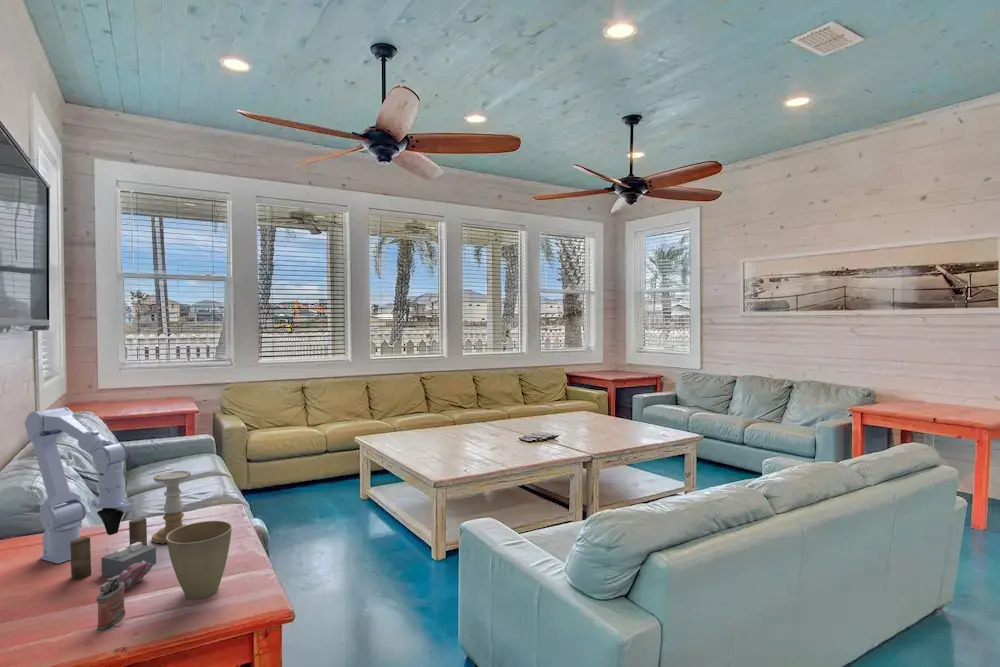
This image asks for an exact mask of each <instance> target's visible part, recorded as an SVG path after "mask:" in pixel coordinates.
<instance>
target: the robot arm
mask: <svg viewBox="0 0 1000 667" xmlns="http://www.w3.org/2000/svg"><path fill="white" fill-rule="evenodd" d="M24 426H25V430H26V434H27V437H28V441H29V442H31V443H32V447H33V450H34V452H35V457H36V459H37V460H36V461H37V464H38V467H39V471H40V474H41V478H42V482H43V485H44V488H45V492H46V496H47V499H46V500H45V501H44V502H43V503H42V504H41V505H40V507H39V512H40V517H39V518H40V520H39V522H40V525H41V526H42V528H43V529H44V530H45V531H44V532H43V535H42V556H39V559H40V558H41V559H40V560H44V561H47V562H51V563H55V564H58V565H59V564H62V563H65V562H68V561H71V552H70V541H72V540H74V539H76V538H81V536H80V535H81V534H80V533H81V531H80V525H81V524H83V520H84V519H85V518H86V516H87V507H86V505H85V503H84V502H83V501H82V498H81V495H80V494H78V493H75V492H73V491H71V490H70V487H69V483H68V480H67V476H66V472H65V470H64V466H63V463H62V459H61V456H60V452H59V448H58V446H57V440H58V438H59V437H61V436H62V435H64V434H66V435H69V437H71V438H73V439H75V440H77V446H78V447H79V448H80V449H82V451H85V452H86V453H87V454H89V455H90V456H91V457H92V461H93V464H94V465H95V471H96V473H98V497H97V498H94V499H91V501H92V502H91V506H92V507H95V509H99V510H98V511H97V512H96V513H97V515H98V516H99V518H100V519H101V521H102V522H103V526H104V528H105V531H106V534H107V535H108V536H112V535H115V534H118V533H119V530H120V525H121V522H122V519H123V516H124V514H126V513H129V512H131V511H133V506H132V505H133V504H132V503H129V502H128V501H127V500H125V499H124V498H125V497H124V478H123V477H124V472H123V471H124V468H123V465H124V463H123V462H125V461H126V460H127V456H128V449H127V447H126V446H125V444H124V443H123V442H121V441H116V442H115V441H111V440H110V439H109V438H107V437H106V436H104V435H103V434H102V433H100V431H99V430H95V429H94V430H93V429H90V430H88V428H86V427H85V426H84V425H83V424H82V423H80V422H79V421H78V420H77V419H76V418H75V414H74V412H73V410H71V409H70V408H69V407H66V406H62V407H59V408H58V407H56V408H51V409H45V410H38V411H36V410H35V411H31V412H29V413H28V415H27V417H26V419H25V420H24Z"/></svg>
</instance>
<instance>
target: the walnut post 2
mask: <svg viewBox="0 0 1000 667" xmlns="http://www.w3.org/2000/svg"><path fill="white" fill-rule="evenodd" d="M128 530H129V531H128V532H129V533H128V534H129V539H128V541H129V546H130V545H131V544H134V543H136V542H142V545H145V546H148V531H147V530H148V527H147V518H145V517H137V518H133V519H130V520H129V522H128Z"/></svg>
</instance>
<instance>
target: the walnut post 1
mask: <svg viewBox="0 0 1000 667" xmlns="http://www.w3.org/2000/svg"><path fill="white" fill-rule="evenodd" d="M70 552H71V559H70V573H71V575H70V576H71V580H72V581H73V580H74V581H77V580H78V581H79V580H83V579H86V578H88V577H90V576H91V575H92V557H91V556H92V551H91V537H90V536H82V537H81V536H80V538H76V539H74V540H72V541H70Z"/></svg>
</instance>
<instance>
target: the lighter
mask: <svg viewBox="0 0 1000 667" xmlns="http://www.w3.org/2000/svg"><path fill="white" fill-rule="evenodd" d="M119 580H120V576H114V577H110V578H107V579H106V582H105V583H103V584H102V585H100V587H99V589H100V590H99V592H100V593H99V594H98V595H97V596H96V600H95V601H96V602H97V620H98V621H97V622H98V623H97V627H96V628H97V632H106V631H108V629H109V630H110V629H112V628H113V627H114V625H115V626H116V625H117V624H118V623H119V622H120V621H121V620H123V618H124V617H125V616H126V609H125V588H124V587H125V583H124V582H119ZM111 627H112V628H111ZM105 630H106V631H105Z"/></svg>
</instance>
